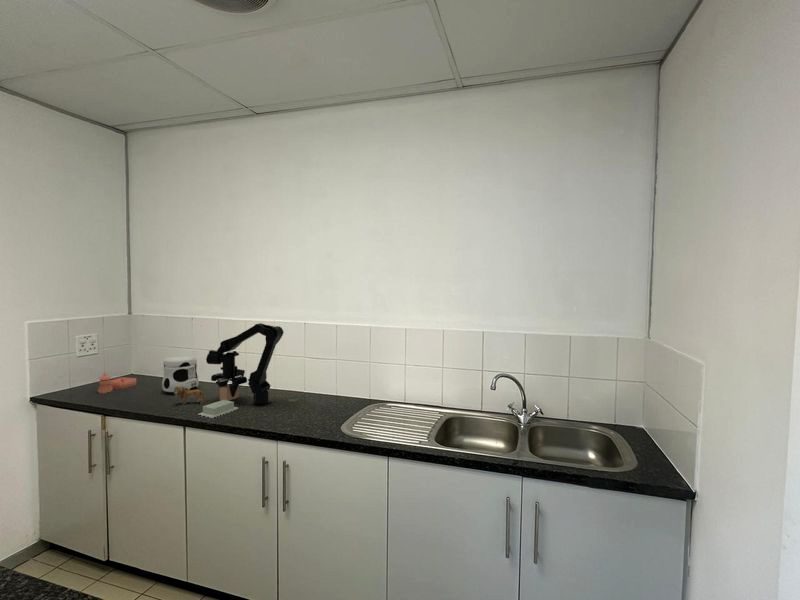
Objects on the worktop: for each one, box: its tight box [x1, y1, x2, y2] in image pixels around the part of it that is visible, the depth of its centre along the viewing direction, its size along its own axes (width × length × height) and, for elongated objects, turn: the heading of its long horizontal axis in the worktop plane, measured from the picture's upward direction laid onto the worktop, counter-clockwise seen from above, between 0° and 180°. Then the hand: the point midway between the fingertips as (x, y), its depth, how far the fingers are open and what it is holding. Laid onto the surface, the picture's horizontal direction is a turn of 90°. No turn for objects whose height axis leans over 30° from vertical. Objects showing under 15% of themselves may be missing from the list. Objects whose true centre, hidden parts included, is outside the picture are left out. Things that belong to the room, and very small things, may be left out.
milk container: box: [161, 355, 199, 394], centre depth 212 cm, size 17×17×18 cm
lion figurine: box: [173, 386, 209, 405], centre depth 191 cm, size 15×5×9 cm, turn 109°
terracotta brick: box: [219, 384, 239, 401], centre depth 194 cm, size 5×7×6 cm
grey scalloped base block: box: [198, 400, 239, 419], centre depth 179 cm, size 9×14×4 cm, turn 155°
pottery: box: [97, 373, 137, 394], centre depth 215 cm, size 18×10×10 cm, turn 168°
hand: (229, 395), depth 194 cm, fingers closed on terracotta brick, 5 cm apart
